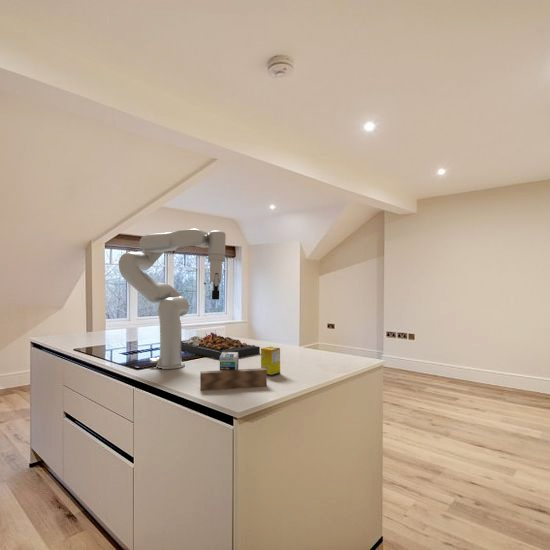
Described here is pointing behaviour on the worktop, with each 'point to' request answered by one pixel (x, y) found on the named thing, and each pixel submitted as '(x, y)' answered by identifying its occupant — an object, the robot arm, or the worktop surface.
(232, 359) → the light bulb box
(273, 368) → the supplement box
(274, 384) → the worktop surface
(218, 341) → the food platter
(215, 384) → the walnut board
